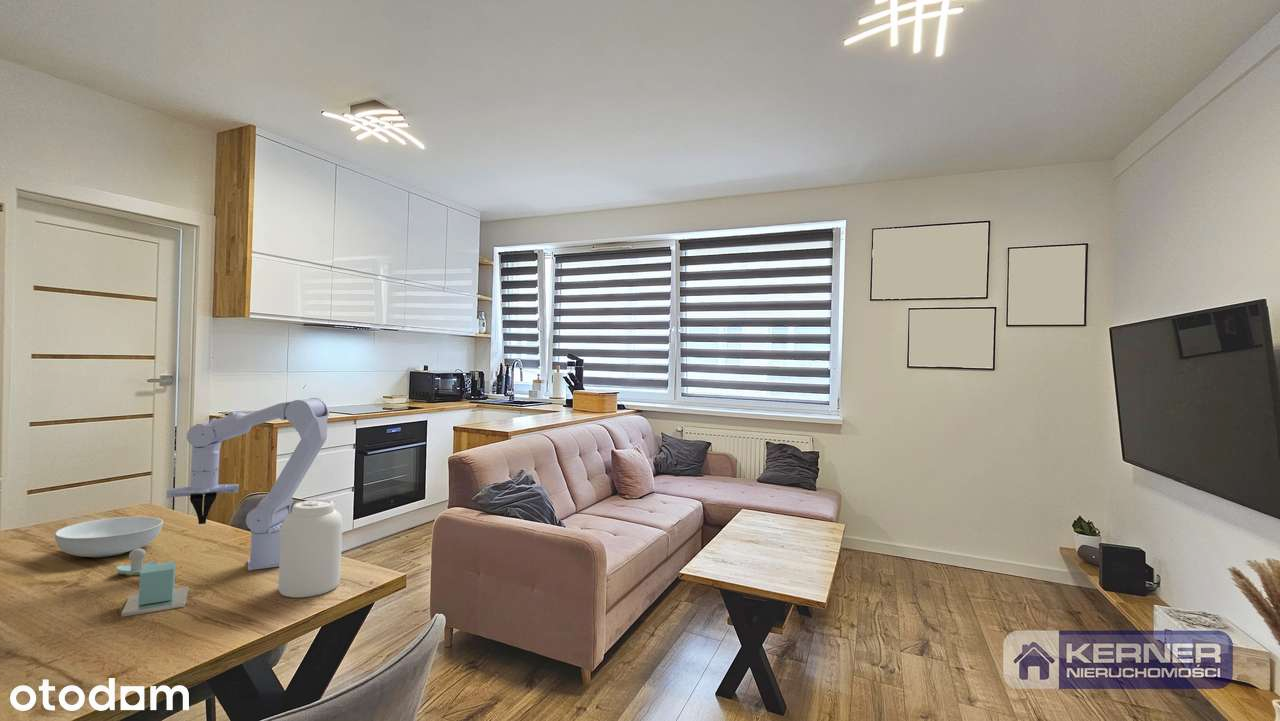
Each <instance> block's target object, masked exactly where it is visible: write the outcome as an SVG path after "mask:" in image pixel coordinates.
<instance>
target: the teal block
mask: <svg viewBox="0 0 1280 721" xmlns="http://www.w3.org/2000/svg"><path fill="white" fill-rule="evenodd" d="M176 563H177V562H176V561H174V560H173V561H169V562H168V561H167V562H159V563H158V562H157V563H156V564H151V565H144V566H143V568H142V570H141V572H140V574H139V585H138V586H139V587H138V588H139V590H138V594H139V603H138V605H143V604H150V603H156V602H162V601H169V600H172V598H173V594H174V589H175V588H176V587H175V584H176V583H175V582H176V567H177V566H176V565H177V564H176Z"/></svg>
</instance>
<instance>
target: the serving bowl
mask: <svg viewBox="0 0 1280 721" xmlns="http://www.w3.org/2000/svg"><path fill="white" fill-rule="evenodd" d="M163 524H164V521H163V519H161V518H159V517H153V516H121V517H119V516H118V517H109V518H102V519H95V520H88V521H83V522H79V523H75V524H72V525H68V526H67V525H66V526H65V527H62V528H60V529H58V530H57V531H55V533H54V538H55V542H56V545H57V547H58V548H59V549H60V550H61V551H63V552H64V553H66V554H67V555H72V556H76V557H88V558H89V557H90V558H107V557H108V558H109V557H113V556H114V557H115V556H120V555H122V554H123V555H124V554H126V553H130V552H131V551H133V550H134V549H138V548H140V549H142V548H143V547H145V546H147V545H148V544H150V543H153V541H154V540H155V539H156V538H157V537H158V535H159V534H160V533H161V531H162V528H163Z"/></svg>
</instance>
